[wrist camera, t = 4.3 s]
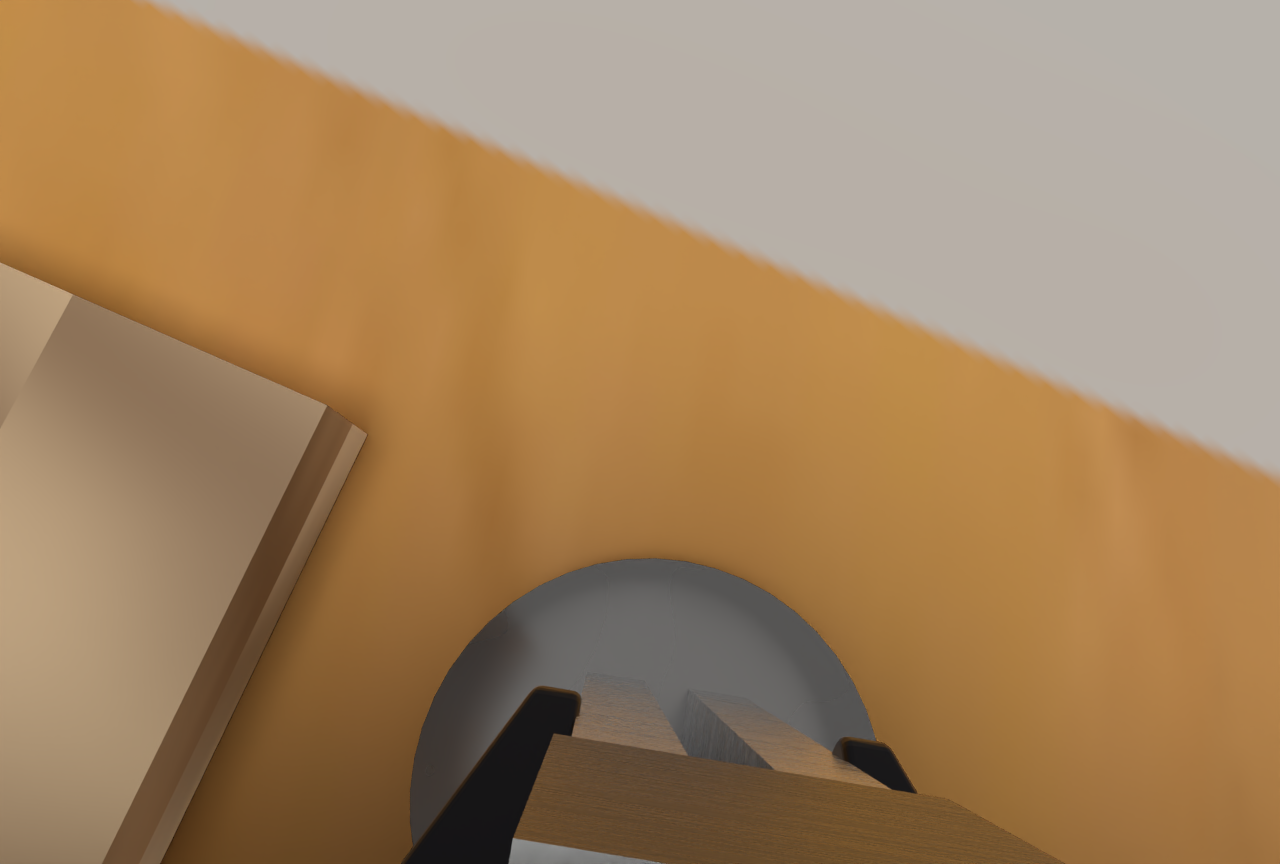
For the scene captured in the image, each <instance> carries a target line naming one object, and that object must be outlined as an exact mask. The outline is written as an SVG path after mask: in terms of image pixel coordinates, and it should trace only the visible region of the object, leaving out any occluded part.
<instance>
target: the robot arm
mask: <svg viewBox="0 0 1280 864" xmlns="http://www.w3.org/2000/svg"><path fill="white" fill-rule="evenodd" d="M581 703H582V698H581V696H580V694H579V693H578V692H576V691H572V690H566V689H561V688H555V687H549V686H537V687H535V688H534V689H533V690H532V691H531V692H530V693H529V694H528V695H527V697H526V698H525V699H524V701H523V702H522V703H521V705H520V706H519V707H518V709H517V710H516V711H515V712H514V714H513V715H512V716H511V718H510V719H509V720H508V722H507V723H506V724H505V726H504V727H503V728H502V730H501V731H500V732H499V734H498V735H497V736H496V738H495V739H494V740H493V742H492V743H491V744H490V746H489V747H488V748H487V750H486V751H485V752H484V754H483V755H482V756H481V758H480V759H479V760H478V762H477V763H476V764H475V766H474V767H473V768H472V769H471V771H470V772H469V773H468V775H467V776H466V777H465V779H464V780H463V781H462V783H461V784H460V785H459V787H458V788H457V789H456V791H455V792H454V793H453V795H452V796H451V797H450V799H449V800H448V801H447V803H446V804H445V805H444V807H443V808H442V809H441V811H440V812H439V813H438V815H437V816H436V817H435V819H434V820H433V821H432V823H431V824H430V825H429V827H428V828H427V829H426V830H425V832H424V833H423V834H422V836H421V837H420V838H419V840H418V841H417V842H416V844H415V845H414V846H413V848H412V849H411V850H410V852H409V853H408V854H407V856H406V857H405V858H404V860H403V861H402V862H401V864H509V858H510V853H511V847H512V841H513V837H514V834H515V832H516V829H517V827H518V824H519V822H520V819H521V816H522V814H523V811H524V809H525V806H526V804H527V801H528V798H529V796H530V793H531V791H532V788H533V786H534V783H535V781H536V778H537V775H538V773H539V770H540V768H541V765H542V763H543V760H544V757H545V755H546V752H547V750H548V747H549V745H550V742H551V739H552V737H553V734H560V735H566V736H572V732H573V728H574V724H575V720H576V717H579V714H580V709H581ZM832 754H834V755H835V756H837V757H839V758H840V759H842V760H843V761H846V762H849V763H850V764H852V765H853V766H855V767H857V768H858V769H860V770H861V771H863V772H864V773H866V774H868V775H869V776H871V777H872V778H874V779H876V780H877V781H879V782H880V783H882V784H884V785H885V786H887V787H888V788H890V789H892V790H897V791H903V792H909V793H915V794H918V793H917V792H916V790H915V788H914V786H913V785H912V783H911V781H910V780H909V778H908V776H907V775H906V773H905V771H904V770H903V768H902V766H901V764H900V763H899V761H898V759H897V758H896V756H895V754H894V753H893V751H892V750H891V749H890V748H889V747H888V746H887V745H886V744H884V743H881V742H878V741H872V740H866V739H860V738H854V737H842V738H840V739H839V741H838V742H837V743H836V745H835V747H834V749H833V752H832Z"/></svg>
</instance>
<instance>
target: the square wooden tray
mask: <svg viewBox="0 0 1280 864" xmlns="http://www.w3.org/2000/svg"><path fill="white" fill-rule="evenodd" d="M366 436H367V434H366V433H365V432H363V431H362V430H361V429H359V428H358V427H357V426H355V425H354V424H352V423H351V422H350V421H348V420H347V419H345V418H344V417H343V416H341V415H340V414H338V413H337V412H336V411H334V410H333V409H332V408H330V407H329V406H327V405H325V404H323V403H321V402H318V401H316V400H314V399H312V398H309V397H307V396H305V395H302V394H300V393H298V392H295V391H293V390H291V389H289V388H286V387H284V386H282V385H279V384H277V383H275V382H273V381H270V380H268V379H266V378H263V377H261V376H259V375H257V374H254V373H252V372H250V371H247V370H245V369H243V368H241V367H238V366H236V365H234V364H231V363H229V362H227V361H225V360H222V359H220V358H218V357H215V356H213V355H211V354H208V353H206V352H204V351H202V350H199V349H197V348H195V347H192V346H190V345H188V344H186V343H183V342H181V341H179V340H176V339H174V338H172V337H170V336H167V335H165V334H163V333H160V332H158V331H156V330H154V329H151V328H149V327H147V326H144V325H142V324H140V323H138V322H135V321H133V320H131V319H128V318H126V317H124V316H121V315H119V314H117V313H115V312H112V311H110V310H108V309H105V308H103V307H101V306H99V305H96V304H94V303H92V302H89V301H87V300H85V299H83V298H80V297H78V296H76V295H73V294H71V293H69V292H67V291H64V290H62V289H60V288H57V287H55V286H53V285H51V284H48V283H46V282H44V281H41V280H39V279H37V278H34V277H32V276H30V275H28V274H25V273H23V272H21V271H18V270H16V269H14V268H12V267H9V266H7V265H5V264H2V263H0V864H160V863H161V861H162V859H163V857H164V855H165V853H166V851H167V849H168V847H169V845H170V842H171V840H172V838H173V836H174V834H175V832H176V830H177V828H178V826H179V824H180V822H181V820H182V818H183V816H184V813H185V811H186V809H187V807H188V805H189V803H190V801H191V799H192V797H193V795H194V793H195V791H196V789H197V787H198V784H199V782H200V780H201V778H202V776H203V774H204V772H205V770H206V768H207V766H208V764H209V762H210V760H211V758H212V755H213V753H214V751H215V749H216V747H217V745H218V743H219V741H220V739H221V737H222V735H223V733H224V731H225V729H226V726H227V724H228V722H229V720H230V718H231V716H232V714H233V712H234V710H235V708H236V706H237V704H238V702H239V700H240V697H241V695H242V693H243V691H244V689H245V687H246V685H247V683H248V681H249V679H250V677H251V675H252V673H253V671H254V668H255V666H256V664H257V662H258V660H259V658H260V656H261V654H262V652H263V650H264V648H265V646H266V644H267V642H268V639H269V637H270V635H271V633H272V631H273V629H274V627H275V625H276V623H277V621H278V619H279V617H280V615H281V613H282V610H283V608H284V606H285V604H286V602H287V600H288V598H289V596H290V594H291V592H292V590H293V588H294V586H295V584H296V581H297V579H298V577H299V575H300V573H301V571H302V569H303V567H304V565H305V563H306V561H307V559H308V557H309V555H310V552H311V550H312V548H313V546H314V544H315V542H316V540H317V538H318V536H319V534H320V532H321V530H322V528H323V526H324V523H325V521H326V519H327V517H328V515H329V513H330V511H331V509H332V507H333V505H334V503H335V501H336V499H337V497H338V494H339V492H340V490H341V488H342V486H343V484H344V482H345V480H346V478H347V476H348V474H349V472H350V470H351V468H352V465H353V463H354V461H355V459H356V457H357V455H358V453H359V451H360V449H361V447H362V445H363V443H364V441H365V439H366Z"/></svg>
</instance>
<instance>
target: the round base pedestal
mask: <svg viewBox="0 0 1280 864" xmlns="http://www.w3.org/2000/svg"><path fill="white" fill-rule="evenodd" d="M537 686H549V687H555V688H561V689H566V690H572V691H576V692H578V693H579V694H580V696H581V698H582V703H581V709H580V714H579V717H576V720H575V724H574V728H573V732H572V736H566V735H560V734H553V737H552V739H551V742H550V745H549V747H548V750H547V752H546V755H545V757H544V760H543V763H542V765H541V768H540V770H539V773H538V775H537V778H536V781H535V783H534V786H533V788H532V791H531V793H530V796H529V798H528V801H527V804H526V806H525V809H524V811H523V814H522V816H521V819H520V822H519V824H518V827H517V829H516V832H515V834H514V837H513V841H512V847H511V853H510V858H509V864H1065V863H1063V862H1061V861H1059V860H1057V859H1056V858H1054V857H1052V856H1050V855H1048V854H1047V853H1045V852H1043V851H1041V850H1039V849H1038V848H1036V847H1034V846H1032V845H1030V844H1029V843H1027V842H1025V841H1023V840H1021V839H1019V838H1018V837H1016V836H1014V835H1012V834H1010V833H1009V832H1007V831H1005V830H1003V829H1001V828H1000V827H998V826H996V825H994V824H992V823H991V822H989V821H987V820H985V819H983V818H981V817H980V816H978V815H976V814H974V813H972V812H971V811H969V810H967V809H965V808H963V807H962V806H960V805H958V804H956V803H954V802H953V801H951V800H949V799H945V798H939V797H933V796H927V795H921V794H915V793H909V792H903V791H897V790H892V789H890V788H888V787H887V786H885V785H884V784H882V783H880V782H879V781H877V780H876V779H874V778H872V777H871V776H869V775H868V774H866V773H864V772H863V771H861V770H860V769H858V768H857V767H855V766H853V765H852V764H850V763H849V762H846V761H843V760H842V759H840V758H839V757H837V756H835V755H834V754H832V752H833V749H834V747H835V745H836V743H837V742H838V741H839V739H840V738H842V737H854V738H860V739H866V740H872V741H876V738H875V735H874V732H873V729H872V726H871V723H870V720H869V717H868V714H867V711H866V709H865V706H864V704H863V702H862V700H861V698H860V696H859V694H858V692H857V689H856V687H855V685H854V683H853V681H852V680H851V678H850V676H849V675H848V673H847V672H846V670H845V669H844V667H843V665H842V664H841V662H840V661H839V659H838V658H837V656H836V655H835V654H834V652H833V651H832V650H831V649H830V647H829V646H828V645H827V644H826V643H825V641H824V640H823V639H822V638H821V637H820V635H819V634H818V633H817V632H816V631H815V630H814V629H813V628H812V627H811V626H810V625H809V624H808V623H807V622H805V621H804V620H803V619H802V618H801V617H800V616H799V615H798V614H797V613H796V612H795V611H793V610H792V609H791V608H789V607H788V606H787V605H785V604H784V603H782V602H781V601H780V600H778V599H777V598H775V597H774V596H773V595H771V594H770V593H768V592H766V591H764V590H762V589H761V588H759V587H757V586H755V585H753V584H751V583H749V582H748V581H746V580H744V579H742V578H739V577H736V576H734V575H731V574H728V573H726V572H723V571H720V570H718V569H715V568H711V567H707V566H703V565H698V564H694V563H690V562H686V561H676V560H666V559H626V560H620V561H613V562H607V563H601V564H596V565H592V566H589V567H586V568H583V569H579V570H576V571H573V572H569V573H566V574H564V575H562V576H560V577H558V578H555V579H553V580H551V581H549V582H547V583H544V584H542V585H540V586H538V587H537V588H535V589H533V590H532V591H530V592H529V593H527V594H525V595H524V596H522V597H521V598H519V599H517V600H516V601H514V602H513V603H512V604H510V605H509V606H508V607H507V608H505V609H504V610H503V611H502V612H500V613H499V614H498V615H497V616H496V617H494V618H493V619H492V620H491V621H489V623H488V624H487V625H486V626H485V627H484V628H483V629H482V630H481V631H480V632H479V633H478V634H477V635H476V636H475V637H474V638H473V639H472V640H471V642H470V643H469V644H468V645H467V646H466V648H465V649H464V650H463V652H462V653H461V654H460V656H459V657H458V659H457V660H456V661H455V663H454V664H453V665H452V667H451V668H450V670H449V671H448V673H447V675H446V677H445V679H444V680H443V682H442V684H441V686H440V688H439V689H438V691H437V693H436V695H435V697H434V699H433V702H432V704H431V707H430V709H429V712H428V714H427V717H426V719H425V722H424V724H423V727H422V731H421V734H420V738H419V742H418V746H417V750H416V754H415V758H414V765H413V773H412V780H411V788H410V825H411V833H412V841H413V846H414V845H415V844H416V842H417V841H418V840H419V838H420V837H421V836H422V834H423V833H424V832H425V830H426V829H427V828H428V827H429V825H430V824H431V823H432V821H433V820H434V819H435V817H436V816H437V815H438V813H439V812H440V811H441V809H442V808H443V807H444V805H445V804H446V803H447V801H448V800H449V799H450V797H451V796H452V795H453V793H454V792H455V791H456V789H457V788H458V787H459V785H460V784H461V783H462V781H463V780H464V779H465V777H466V776H467V775H468V773H469V772H470V771H471V769H472V768H473V767H474V766H475V764H476V763H477V762H478V760H479V759H480V758H481V756H482V755H483V754H484V752H485V751H486V750H487V748H488V747H489V746H490V744H491V743H492V742H493V740H494V739H495V738H496V736H497V735H498V734H499V732H500V731H501V730H502V728H503V727H504V726H505V724H506V723H507V722H508V720H509V719H510V718H511V716H512V715H513V714H514V712H515V711H516V710H517V709H518V707H519V706H520V705H521V703H522V702H523V701H524V699H525V698H526V697H527V695H528V694H529V693H530V692H531V691H532V690H533V689H534V688H535V687H537Z"/></svg>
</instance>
